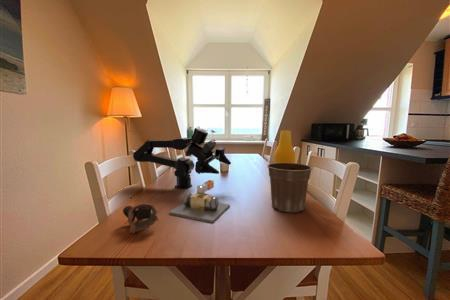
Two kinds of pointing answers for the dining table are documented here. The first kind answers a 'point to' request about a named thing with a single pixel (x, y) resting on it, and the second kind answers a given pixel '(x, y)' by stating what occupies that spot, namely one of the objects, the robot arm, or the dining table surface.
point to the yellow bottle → (284, 149)
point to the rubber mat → (200, 212)
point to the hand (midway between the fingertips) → (224, 168)
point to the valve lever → (205, 187)
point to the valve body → (201, 202)
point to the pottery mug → (140, 216)
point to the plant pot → (289, 186)
